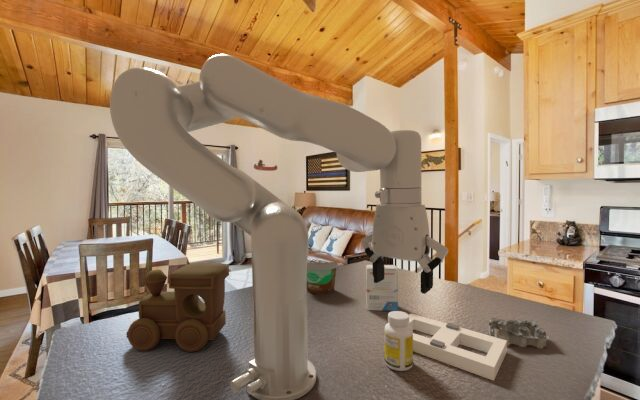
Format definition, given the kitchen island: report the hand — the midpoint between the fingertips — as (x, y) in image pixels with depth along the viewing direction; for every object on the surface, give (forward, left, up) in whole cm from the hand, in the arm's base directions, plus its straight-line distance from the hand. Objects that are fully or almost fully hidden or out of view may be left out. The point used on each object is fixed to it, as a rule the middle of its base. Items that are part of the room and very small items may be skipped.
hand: (401, 286), depth 60 cm
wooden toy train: (-23, +42, -16) cm, 51 cm away
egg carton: (+25, -16, -16) cm, 34 cm away
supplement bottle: (0, 0, -16) cm, 16 cm away
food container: (+20, +38, -16) cm, 46 cm away
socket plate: (+12, -5, -16) cm, 20 cm away
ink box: (+22, +16, -16) cm, 31 cm away
